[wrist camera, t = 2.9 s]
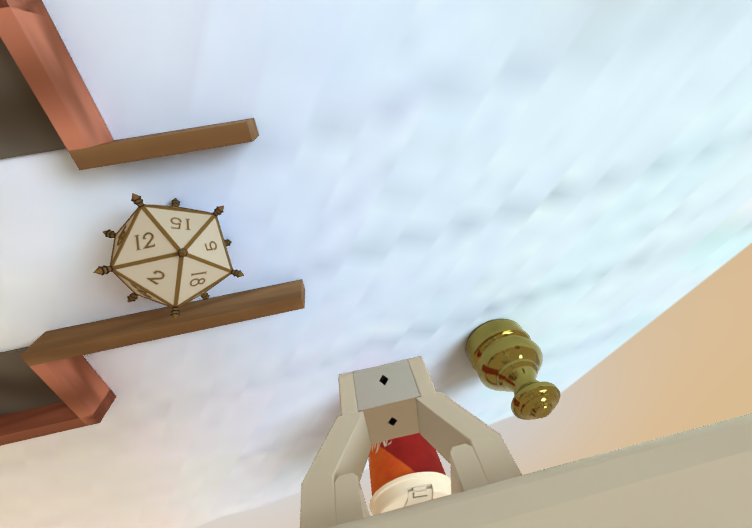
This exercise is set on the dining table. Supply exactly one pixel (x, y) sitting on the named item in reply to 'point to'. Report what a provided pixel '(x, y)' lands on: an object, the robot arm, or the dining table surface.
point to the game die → (169, 254)
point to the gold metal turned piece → (512, 367)
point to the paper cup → (405, 473)
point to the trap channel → (89, 150)
